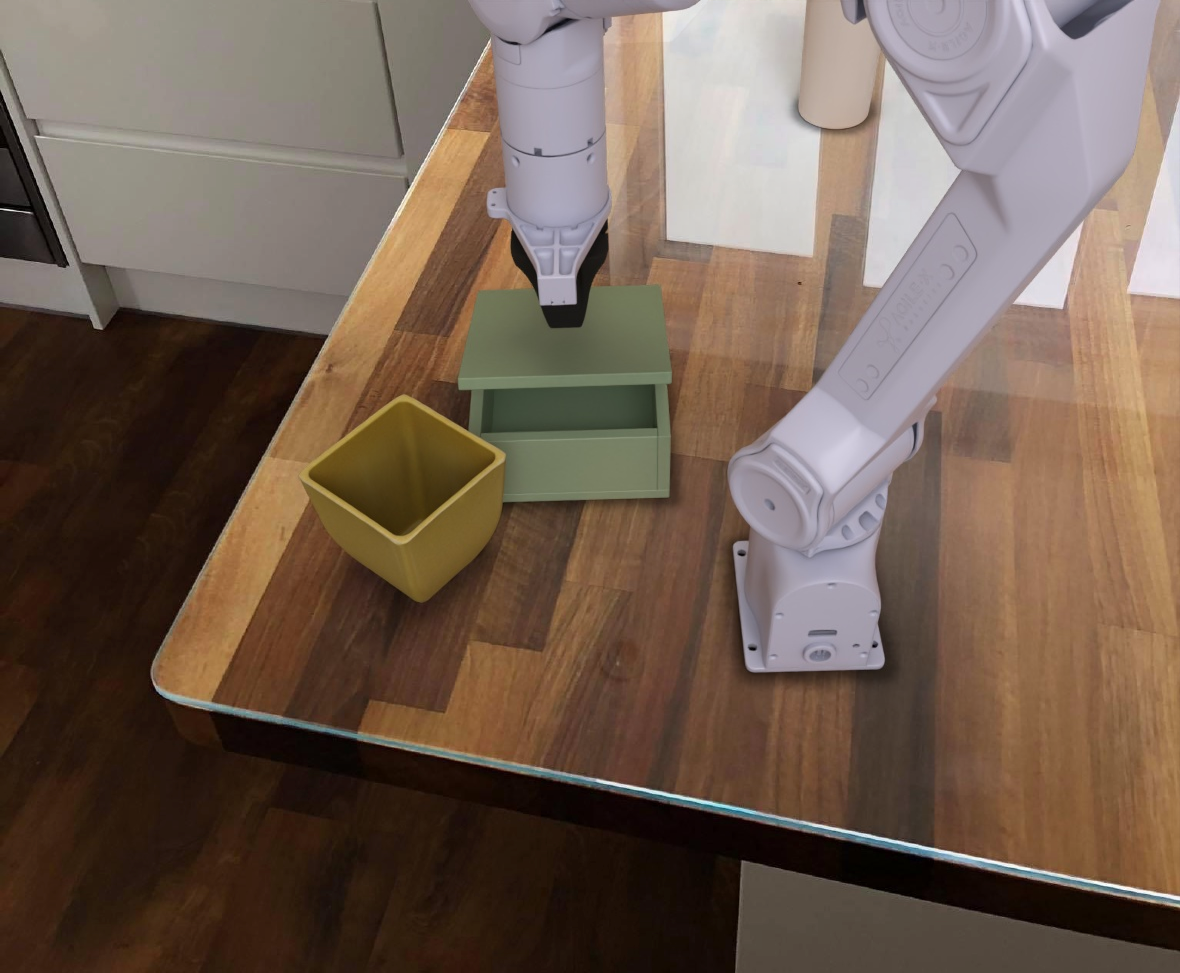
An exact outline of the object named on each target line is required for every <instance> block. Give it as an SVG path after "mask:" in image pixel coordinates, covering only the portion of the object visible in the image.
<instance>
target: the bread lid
mask: <svg viewBox="0 0 1180 973" xmlns="http://www.w3.org/2000/svg"><path fill="white" fill-rule="evenodd" d="M662 292H663V291H662V285H661V284H630V285H629V284H627V285H600V286H599V285H598V286H596V285H595V286H591V289H590V293H589V299H588V305H587V310H586V315H585V319H584V322H583V324H582V326H581V327H579V328H550V327H549V325H548V323H547V321H546V319H545V317H544V314H543V312H542V309H541V306H540V303H539V300H538V297H537V295H536V292H535V290H534V288H508V289H507V288H506V289H505V288H504V289H481V290H480V289H478V290H477V293H476V298H475V301H474V306H473V311H472V314H471V319H470V323H469V327H468V331H467V336H466V341H465V345H464V350H463V353H462V358H461V363H460V367H459V371H458V376H457V387H458V391H472V390H482V389H515V388H548V387H580V386H613V385H646V384H667V385H671V384H672V383H673V369H672V361H671V355H670V347H669V339H668V338H669V337H668V330H667V322H666V316H665V308H664V300H663V293H662Z"/></svg>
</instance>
